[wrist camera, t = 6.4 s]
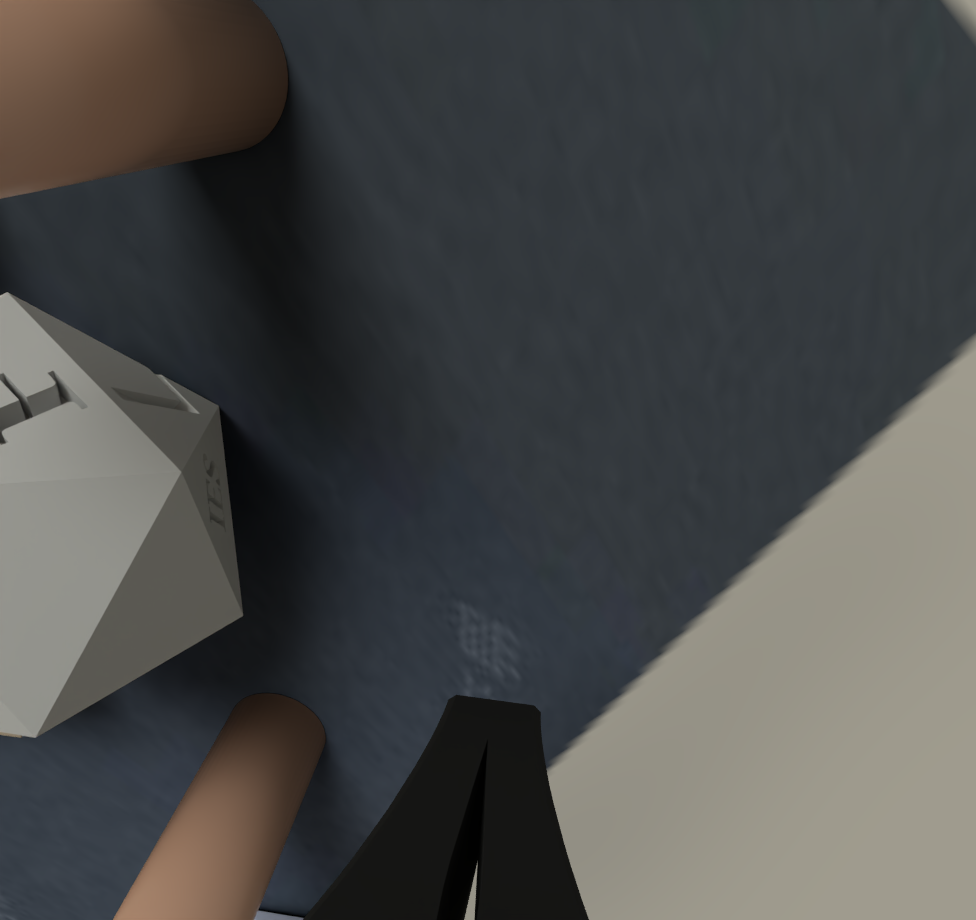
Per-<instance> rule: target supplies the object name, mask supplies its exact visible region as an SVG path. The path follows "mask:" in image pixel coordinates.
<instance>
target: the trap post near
mask: <svg viewBox="0 0 976 920" xmlns="http://www.w3.org/2000/svg"><path fill="white" fill-rule="evenodd" d="M287 91H288V71H287V63H286V58H285V54H284V50H283V48H282V45H281V42H280V39H279V37H278V35H277V33H276V31H275V29H274V27H273V26H272V24H271V22H270V21H269V19H268V18H267V17H266V15H265V14H264V13H263V11H262V10H261V9H260V8H259V7H258V6H257V5H256V4H255V3H254V2H253V1H252V0H0V199H1V198H6V197H11V196H16V195H21V194H26V193H31V192H36V191H41V190H46V189H51V188H56V187H61V186H66V185H71V184H76V183H81V182H86V181H91V180H96V179H101V178H106V177H111V176H116V175H121V174H126V173H131V172H136V171H141V170H146V169H151V168H156V167H161V166H166V165H171V164H176V163H181V162H187V161H192V160H197V159H202V158H207V157H212V156H217V155H222V154H227V153H232V152H237V151H241V150H244V149H247V148H250V147H252V146H254V145H256V144H257V143H259V142H260V141H262V140H263V139H264V138H265V137H266V136H267V135H268V134H269V133H270V132H271V131H272V130H273V128H274V127H275V126H276V124H277V122H278V121H279V119H280V117H281V114H282V112H283V109H284V106H285V102H286V98H287Z"/></svg>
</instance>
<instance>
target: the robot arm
mask: <svg viewBox="0 0 976 920" xmlns="http://www.w3.org/2000/svg"><path fill="white" fill-rule="evenodd" d="M540 718H541V712H540V711H539V710H538V709H537V708H536V707H535V706H534V705H526V704H519V703H512V702H504V701H497V700H490V699H482V698H475V697H468V696H460V695H455V696H454V697H452V698H450V699H449V700H448V703H447V705H446V708H445V710H444V713H443V715H442V717H441V719H440V721H439V723H438V726H437V728H436V730H435V732H434V733H433V735H432V737H431V739H430V741H429V743H428V745H427V746H426V748H425V750H424V752H423V753H422V755H421V757H420V759H419V761H418V762H417V764H416V766H415V767H414V769H413V771H412V772H411V774H410V775H409V777H408V778H407V780H406V782H405V783H404V785H403V786H402V788H401V789H400V791H399V793H398V794H397V796H396V797H395V799H394V801H393V802H392V804H391V805H390V807H389V808H388V810H387V811H386V813H385V814H384V815H383V817H382V818H381V820H380V821H379V822H378V824H377V825H376V827H375V828H374V829H373V831H372V832H371V834H370V835H369V836H368V838H367V839H366V840H365V842H364V843H363V845H362V846H361V847H360V849H359V850H358V852H357V853H356V854H355V856H354V857H353V858H352V860H351V861H350V862H349V864H348V865H347V866H346V867H345V869H344V870H343V871H342V873H341V874H340V875H339V876H338V878H337V879H336V880H335V881H334V883H333V884H332V885H331V886H330V888H329V889H328V890H327V891H326V892H325V894H324V895H323V896H322V897H321V898H320V900H319V901H318V902H317V903H316V904H315V906H314V907H313V908H312V909H311V910H310V912H309V913H308V914H307V915H306V916H305V917H304V918H301V917H295V916H289V915H283V914H277V913H271V912H265V911H259V910H258V912H257V914H256V917H255V919H254V920H464V918H465V913H466V908H467V905H468V900H469V896H470V892H471V887H472V882H473V878H474V874H475V869H476V865H477V861H478V868H477V886H476V904H475V920H589V919H588V916H587V913H586V910H585V907H584V905H583V902H582V899H581V896H580V893H579V890H578V887H577V884H576V881H575V878H574V874H573V872H572V868H571V865H570V862H569V859H568V855H567V852H566V848H565V845H564V842H563V838H562V834H561V830H560V826H559V822H558V819H557V815H556V811H555V808H554V803H553V800H552V795H551V791H550V786H549V781H548V775H547V770H546V765H545V759H544V753H543V745H542V737H541V719H540Z"/></svg>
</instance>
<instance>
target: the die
mask: <svg viewBox="0 0 976 920" xmlns="http://www.w3.org/2000/svg"><path fill="white" fill-rule="evenodd" d="M242 616H243V609H242V601H241V592H240V583H239V575H238V566H237V558H236V549H235V541H234V532H233V523H232V515H231V506H230V498H229V489H228V481H227V472H226V464H225V455H224V446H223V438H222V429H221V421H220V412H219V406H218V405H216V404H214V403H212V402H211V401H209V400H207V399H205V398H203V397H201V396H199V395H198V394H196V393H194V392H192V391H190V390H188V389H186V388H185V387H183V386H181V385H179V384H177V383H175V382H173V381H172V380H170V379H168V378H166V377H164V376H162V375H157V374H154V373H153V372H152V371H151V370H150V369H149V368H147V367H145V366H144V365H142V364H140V363H138V362H136V361H134V360H132V359H131V358H129V357H127V356H125V355H123V354H121V353H119V352H118V351H116V350H114V349H112V348H110V347H108V346H106V345H105V344H103V343H101V342H99V341H97V340H95V339H93V338H92V337H90V336H88V335H86V334H84V333H82V332H80V331H79V330H77V329H75V328H73V327H71V326H69V325H67V324H66V323H64V322H62V321H60V320H58V319H56V318H54V317H53V316H51V315H49V314H47V313H45V312H43V311H41V310H39V309H38V308H36V307H34V306H32V305H30V304H28V303H26V302H25V301H23V300H21V299H19V298H17V297H15V296H13V295H12V294H10V293H8V292H6V293H4V294H3V295H1V296H0V732H3V733H9V734H16V735H22V736H28V737H34V738H36V737H38V736H39V735H41V734H43V733H44V732H46V731H48V730H49V729H51V728H53V727H55V726H56V725H58V724H60V723H61V722H63V721H65V720H67V719H68V718H70V717H72V716H73V715H75V714H77V713H78V712H80V711H82V710H84V709H85V708H87V707H89V706H90V705H92V704H94V703H96V702H97V701H99V700H101V699H102V698H104V697H106V696H107V695H109V694H111V693H113V692H114V691H116V690H118V689H119V688H121V687H123V686H124V685H126V684H128V683H130V682H131V681H133V680H135V679H136V678H138V677H140V676H142V675H143V674H145V673H147V672H148V671H150V670H152V669H153V668H155V667H157V666H159V665H160V664H162V663H164V662H165V661H167V660H169V659H171V658H172V657H174V656H176V655H177V654H179V653H181V652H182V651H184V650H186V649H188V648H189V647H191V646H193V645H194V644H196V643H198V642H200V641H201V640H203V639H205V638H206V637H208V636H210V635H211V634H213V633H215V632H217V631H218V630H220V629H222V628H223V627H225V626H227V625H228V624H230V623H232V622H234V621H235V620H237V619H239V618H240V617H242Z"/></svg>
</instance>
